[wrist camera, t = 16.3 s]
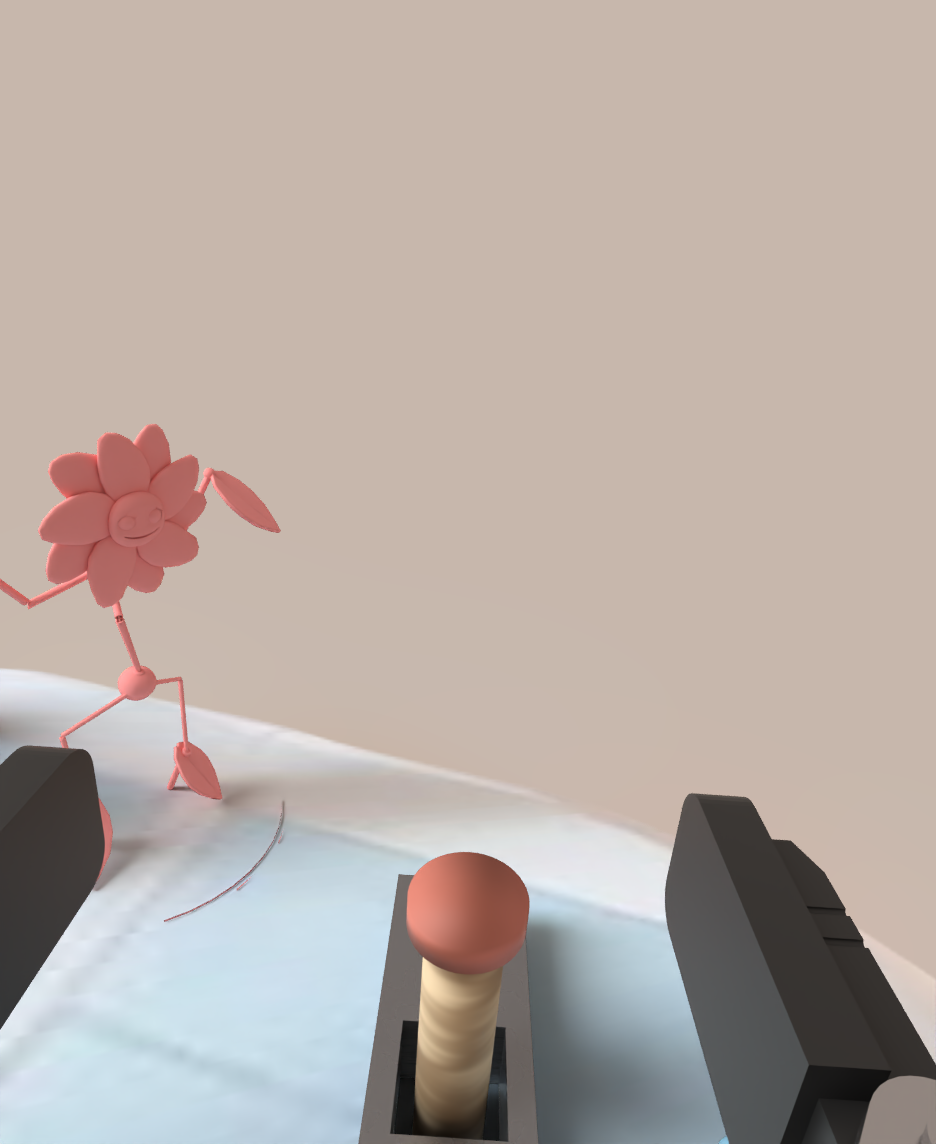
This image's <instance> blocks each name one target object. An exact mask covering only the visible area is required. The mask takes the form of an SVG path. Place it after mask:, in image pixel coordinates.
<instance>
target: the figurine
mask: <svg viewBox="0 0 936 1144" xmlns="http://www.w3.org/2000/svg"><path fill="white" fill-rule="evenodd" d="M170 463H171V459H170V450H169V443H168V441H167V439H166V437H165V435H164V432H163V430H162V429H161V428H160V427H159V426H158V425H157V424H150V425H146V426H145V427H144V428H143V430H142V431H141V432H140V433H139V434H138V436H137V438H136V439H135V441H134V442H133V443H132V441H130V440H129V439H128V438H126V437H124V436H122V435H120V434H117V433H104V434H103V435H102V436H101V437H100V438H99V439H98V442H97V455H94V454H87V453H80V452H76V453H70V454H64V455H60V456H59V457H57V458H56V459H55V460H53V461H51V462H50V466H49V470H48V473H49V475H50V478H51V480H52V482H53V483H54V485H55V486H56V487H57V489H58V490H59V491H60V492H61V493H62V494H63V495H64V496H65V497H66V498H67V499H66V500H64V501H63V502H61V503H59V504H58V505H56V506H55V507H53V508H52V510H51V511H50V512H49V513H48V515H47V516H46V517H45V518H44V519H43V520H42V522H41V525H40V527H39V530H38V532H39V534H40V536H41V538H42V540H44V541H48V542H51V543H53V546H52V548H51V550H50V552H49V554H48V559H47V566H46V574H47V577H48V581H50V582H53V583H55V584H60V585H58V586H56V587H54V588H52V589H50V590H48V591H46V592H45V593H42V594H40V595H38V596H36V597H34V598H32V599H31V600H29V599H27V598H26V597H25V596H23V595H22V594H20V593H19V592H18V591H16V590H15V589H13V588H12V587H11V586H9V585H8V584H6V583H5V582H4V581H2V580H1V579H0V589H1V590H2V591H4V592H5V593H7V594H8V595H10V596H11V597H12V598H14V599H15V600H17V601H18V602H19V603H21V604H22V605H26V604H27V603H28V609H30V608H32V607H34V606H35V605H38V604H39V603H42V602H44V601H45V600H47V599H49V598H51V597H54V596H55V595H57V594H59V593H61V592H63V591H65V590H67V589H69V588H71V587H73V586H75V585H77V584H79V583H81V582H83V581H84V580H87V579H88V581H89V584H90V587H91V591H92V593H93V595H94V597H95V600H96V602H97V604H98V605H100V606H102V607H103V608H105V607H109V606H113V611H114V616H115V619H116V624H117V626H118V629H119V631H120V634H121V636H122V638H123V641H124V643H125V646H126V648H127V651H128V653H129V655H130V658H131V660H132V663H133V665H134V666H132V667H129V668H127V669H126V670H125V671H123V672H122V674H121V675H120V677H119V679H118V689H119V691H120V693H121V694H122V695H121V696H119V697H118V698H116V699H115V700H113V701H112V702H110V703H108V704H107V705H105V706H104V707H102V708H101V709H99V710H97V711H96V712H94V713H93V714H91V715H90V716H88V717H87V718H85V719H83V720H82V721H80V722H79V723H77V724H76V725H74V726H72V727H71V728H69V729H68V730H66V731H65V732H63V733H62V734H61V737H60V742H61V745H62V748H68V745H67V741H66V738H65V736H67V735H69V734H70V733H72V732H73V731H75V730H76V729H78V728H80V727H81V726H83V725H84V724H86V723H87V722H89V721H91V720H92V719H94V718H95V717H97V716H98V715H100V714H102V713H103V712H105V711H106V710H108V709H109V708H111V707H113V706H114V705H116V704H117V703H119V702H120V701H122V700H124V699H125V698H127V699H129V700H134V701H138V700H142V699H145V698H146V697H148V696H149V695H150V694H151V693H152V692H153V690H154V689H155V686H156V685H157V684H163V683H169V682H175V681H178V686H179V696H180V707H181V718H182V729H183V740H184V742H179V743H177V746H176V747H174V761H175V763H176V766H175V768H174V771H173V773H172V776H171V778H170V781H169V783H168V786H167V789H169V790H172V789H173V787H174V785H175V782H176V780H177V777H178V775H179V772H180V775H181V777H182V778H183V780H184V781H185V782H186V784H187V785H188V787H189V788H191V789H192V790H194V791H195V792H196V793H198V794H199V795H202V796H205V797H209V798H212V799H219V800H220V799H222V794H221V789H220V786H219V782H218V779H217V776H216V772H215V769H214V768H213V766H212V764H211V762H210V760H209V758H208V757H207V756H206V754H205V753H204V752H203V751H202V750H201V749H199V748H198V747H196V746H195V745H193V744H191V743H190V742H188V737H187V726H186V714H185V703H184V691H183V681H182V679H181V677H175V678H169V679H161V680H156V677H155V675H154V673H153V672H152V671H151V670H150V669H149V668H147V667H144V666H140V664H139V661H138V658H137V655H136V652H135V650H134V647H133V644H132V641H131V638H130V635H129V632H128V629H127V627H126V624H125V621H124V619H123V614H122V611H121V607H120V603H119V600H120V599H121V598H122V597H123V594H124V592H125V589H126V587H127V586H129V587H131V588H133V589H134V590H137V591H140V592H145V593H149V592H153V591H155V590H156V589H157V588H158V587H159V586H160V585H161V581H162V579H163V576H164V571H163V567H173V566H180V565H182V564H185V563H187V562H189V561H191V560H192V559H194V557H196V555H197V553H198V548H199V546H198V543H197V539H196V537H195V536H193V535H191V534H190V533H189V532H187V529H188V527H189V526H190V525H191V524H192V523H193V522H195V521H196V520H197V519H198V517H199V516H200V515H201V513H202V512H203V511H204V508H205V506H206V503H207V502H206V499H205V496H204V492H205V491H206V488H207V486H208V484H209V482H210V480H211V481H212V484H213V487H214V488H215V490H216V491H217V492H218V494H219V495H220V496H221V497H222V499H223V500H224V501H225V502H226V504H227V505H228V506H229V507H230V508H231V509H232V510H234V511H235V512H236V513H237V514H238V515H239V516H240V517H242V518H243V519H245V520H247V521H248V522H249V523H251V524H252V525H254V526H256V527H259V528H262V529H265V530H268V531H271V532H276V533H279V532H280V531H281V530H280V529H279V527H278V525H277V523H276V521H275V520H274V518H273V517H272V515H271V514H270V512H269V510H268V509H267V507H266V506H265V504H264V503H263V502H262V501H261V500H260V499H259V498H258V497H257V496H256V494H255V493H254V492H253V491H252V490H251V489H250V488H248V487H247V486H246V485H245V484H243V483H242V482H241V481H240V480H238V479H236V478H235V477H233V476H231V475H229V474H227V473H226V472H224V471H214V470H213V469H212V468H207V469H205V470H204V479H203V481H202V483H201V485H200V487H199V489H198V491H194V488H195V486H196V483H197V480H198V472H199V465H198V461H197V458H195V457H194V456H192V455H188V456H185V457H183V458H181V459H179V460H177V461H175V462H173V463H171V464H170ZM86 571H87V572H86ZM61 583H62V584H61ZM99 805H100V811H101V818H102V824H103V830H104V837H105V852H104V858H103V863H102V867H101V870H100V873H99V876H98V878H99V877H100V875H101V872H102V870H103V868H104V866H105V864H106V862H107V860H108V857H109V855H110V852H111V843H112V835H113V830H112V825H111V820H110V815H109V814H108V812H107V810H106V809H105V807H104V805H103V804H102V802H101V800H100V799H99ZM281 809H282V808H281ZM281 815H282V813H281ZM280 820H281V819H280ZM279 825H280V824H279ZM278 829H279V828H278ZM277 832H278V830H277ZM276 834H277V833H276ZM275 836H276V835H275ZM281 836H282V835H281ZM280 838H281V837H280ZM274 839H275V837H274ZM273 841H274V840H273ZM279 841H280V840H279ZM272 843H273V842H272ZM272 843H271V845H272ZM278 843H279V842H278ZM271 845H270V846H271ZM269 848H270V847H269ZM269 848H268V849H269ZM267 851H268V850H267ZM267 851H266V853H267ZM266 853H265V854H266ZM265 854H264V856H265ZM264 856H263V857H264ZM263 857H262V858H261V859H260V860H259V862H260V861H261V860H262V859H263ZM259 862H258V863H259ZM258 863H257V864H258ZM257 864H256V865H257ZM256 865H255V866H256ZM255 866H254V867H255ZM254 867H253V868H252V869H251V870H250V872H251V871H252V870H253V869H254ZM250 872H248V873H247V874H246V875H245V876H247V875H248V874H249V873H250ZM245 876H244V877H245ZM244 877H243V878H244ZM243 878H241V879H240V880H239V881H238V882H240V881H241V880H242V879H243ZM250 878H251V877H250ZM250 878H249V879H250ZM249 879H248V880H249ZM97 880H98V879H97ZM248 880H247V881H248ZM247 881H246V882H247ZM238 882H237V883H238ZM237 883H235V884H234V885H233V886H232V887H234V886H235V885H236V884H237ZM243 884H244V883H243ZM243 884H242V885H243ZM242 885H241V886H242ZM241 886H240V887H241ZM232 887H230V888H229V889H231V888H232ZM240 887H239V888H240ZM239 888H238V889H239ZM229 889H227V890H226V891H228V890H229ZM238 889H237V890H238ZM226 891H224V892H223V893H225V892H226ZM223 893H221V894H220V895H222V894H223ZM220 895H218V896H217V897H219V896H220ZM217 897H215V898H214V899H216V898H217ZM214 899H212V900H210V901H208V902H206V903H204V904H202V905H200V906H198V907H196V908H194V909H192V910H190V911H188V912H185V913H183V914H180V915H177V916H175V917H172V918H169V919H167V920H164V922H165V921H168V920H171V919H173V918H176V917H179V916H181V915H184V914H187V913H189V912H191V911H193V910H195V909H197V908H199V907H201V906H203V905H205V904H207V903H209V902H211V901H213V900H214Z"/></svg>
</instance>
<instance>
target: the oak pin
mask: <svg viewBox="0 0 936 1144" xmlns="http://www.w3.org/2000/svg"><path fill="white" fill-rule="evenodd" d="M528 914H529V895H528V892H527V889H526V887H525V885H524V883H523V881H522V880H521V878H520V877H519V876H518V875H517V873H516V872H515V871H513V870H512V869H511V868H510V867H509V866H507V865H506V864H505V863H503V862H501V861H499V860H497V859H495V858H493V857H490V856H487V855H483V854H479V853H472V852H458V853H451V854H446V855H443V856H440V857H437V858H435V859H433V860H431V861H429V862H428V863H426V864H425V865H424V866H423V867H421V868H420V869H419V870H418V872H417V873H416V874H415V875H414V877H413V879H412V880H411V883H410V885H409V889H408V897H407V918H406V925H407V931H408V935H409V938H410V940H411V942H412V944H413V946H414V947H415V949H416V950H417V951H418V952H419V953H420V955H421V956H423V962H422V978H421V995H420V1012H419V1028H418V1045H417V1061H416V1078H415V1094H414V1111H413V1128H412V1135H415V1136H430V1137H445V1138H459V1139H474V1140H483V1131H484V1123H485V1115H486V1106H487V1098H488V1089H489V1081H490V1072H491V1064H492V1055H493V1047H494V1038H495V1030H496V1022H497V1013H498V1005H499V996H500V988H501V979H502V971H503V966H504V965H505V964H506V963H508V962H509V961H511V960H512V959H513V958H514V957H515V956H516V954H517V953H518V952H519V950H520V949H521V947H522V945H523V942H524V940H525V936H526V930H527V922H528Z"/></svg>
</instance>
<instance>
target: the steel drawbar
mask: <svg viewBox="0 0 936 1144" xmlns="http://www.w3.org/2000/svg"><path fill="white" fill-rule="evenodd" d="M413 877H414V875H401V874H399V876H398V883H397V889H396V896H395V903H394V909H393V916H392V923H391V930H390V936H389V943H388V950H387V956H386V963H385V970H384V976H383V983H382V990H381V996H380V1003H379V1010H378V1016H377V1023H376V1030H375V1036H374V1043H373V1050H372V1057H371V1063H370V1070H369V1077H368V1083H367V1090H366V1097H365V1103H364V1110H363V1117H362V1123H361V1130H360V1137H359V1143H358V1144H538V1133H537V1117H536V1100H535V1084H534V1067H533V1051H532V1034H531V1018H530V1001H529V985H528V968H527V952H526V936H525V940H524V942H523V945H522V947H521V949H520V950H519V952H518V953H517V954H516V956H515V957H514V958H513V959H512V960H511V961H509V962H508V963H506V964H505V965H504V966H503V971H502V979H501V988H500V996H499V1005H498V1013H497V1022H496V1030H495V1038H494V1047H493V1055H492V1064H491V1072H490V1081H489V1083H491V1084H499V1141H489V1140H474V1139H459V1138H445V1137H430V1136H415V1135H401V1134H394V1130H395V1121H396V1112H397V1102H398V1093H399V1084H400V1077H404V1078H416V1061H417V1045H418V1028H419V1012H420V995H421V978H422V962H423V956H421V955H420V953H419V952H418V951H417V950H416V949H415V947H414V946H413V944H412V942H411V940H410V938H409V935H408V931H407V925H406V918H407V897H408V889H409V885H410V883H411V880H412V879H413Z"/></svg>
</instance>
